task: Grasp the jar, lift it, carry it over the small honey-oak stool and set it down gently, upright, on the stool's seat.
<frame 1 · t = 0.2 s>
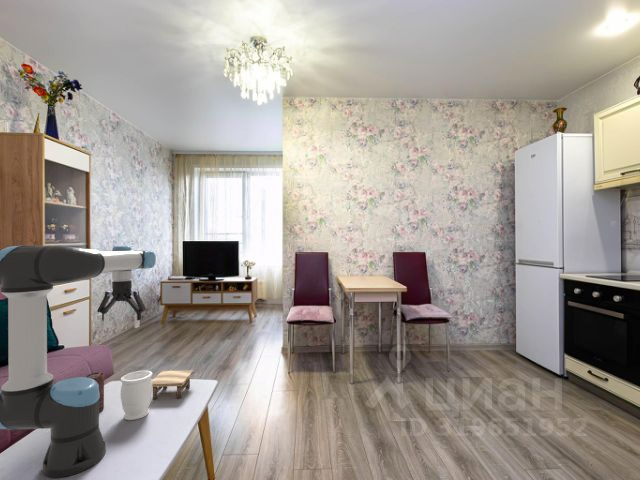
hand: (121, 327, 146), 28 cm above the table, fingers open, 13 cm apart
jar: (136, 415, 124), on the table
can: (94, 411, 127), on the table
stool: (171, 392, 142), on the table
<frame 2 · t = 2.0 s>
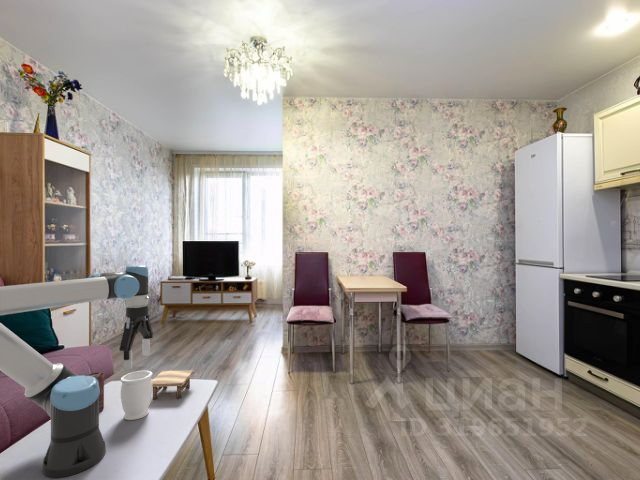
hand: (137, 361, 124), 20 cm above the table, fingers open, 13 cm apart
nothing on the table moved.
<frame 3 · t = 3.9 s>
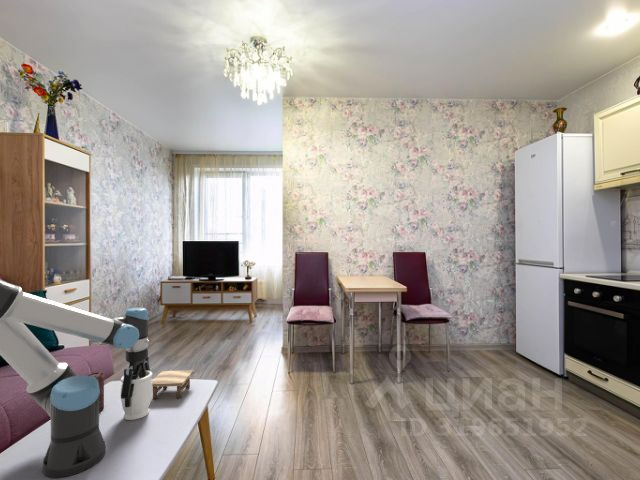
hand: (136, 407, 124), 3 cm above the table, fingers closed on jar, 10 cm apart
jar: (136, 415, 124), on the table, touching gripper
everything else where it was.
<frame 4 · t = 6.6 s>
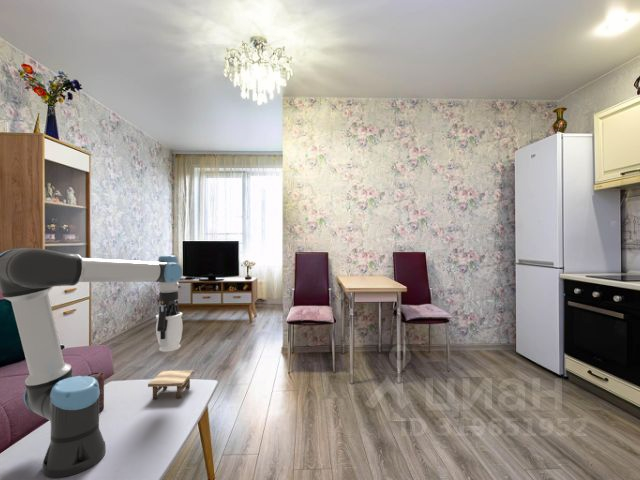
hand: (169, 342, 141), 23 cm above the table, fingers closed on jar, 10 cm apart
jar: (169, 349, 141), point 20 cm above the table, touching gripper
everything else where it was.
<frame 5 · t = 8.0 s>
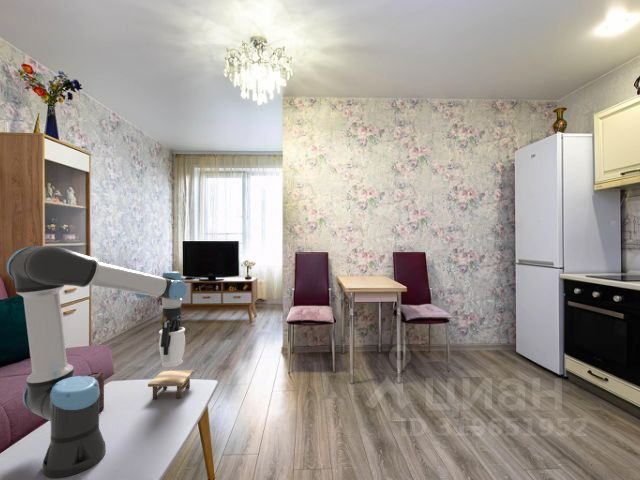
hand: (172, 357, 143), 15 cm above the table, fingers closed on jar, 10 cm apart
jar: (172, 364, 143), point 12 cm above the table, touching gripper
everything else where it was.
when the fingers open (11 cm above the table, at t = 9.3 s): jar drops 1 cm, resting on stool.
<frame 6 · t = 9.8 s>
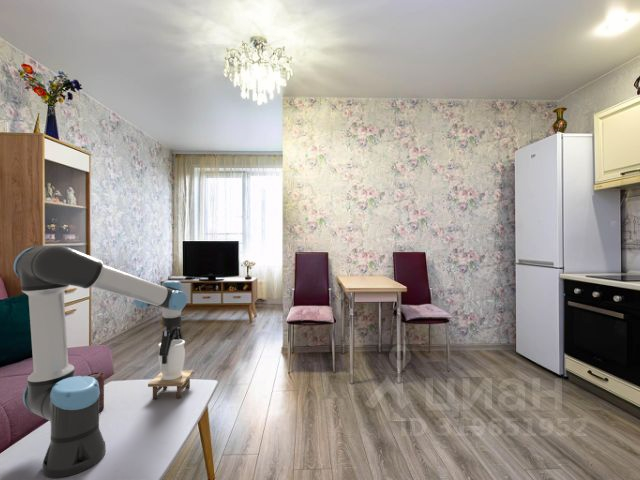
hand: (171, 364, 142), 12 cm above the table, fingers open, 13 cm apart
jar: (172, 377, 142), point 7 cm above the table, touching stool
everything else where it was.
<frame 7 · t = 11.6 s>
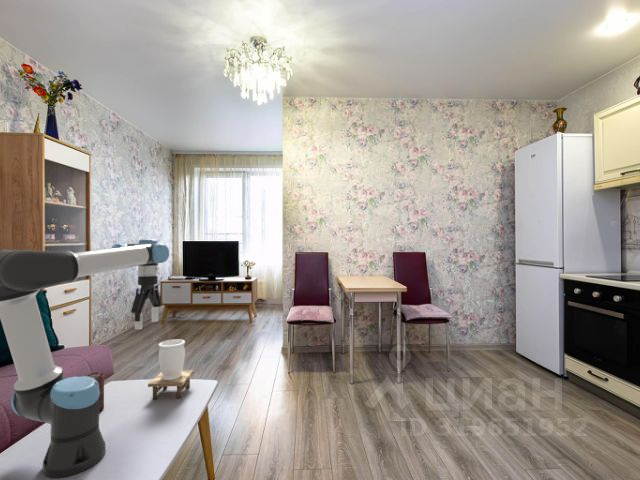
hand: (147, 325, 139), 30 cm above the table, fingers open, 13 cm apart
nothing on the table moved.
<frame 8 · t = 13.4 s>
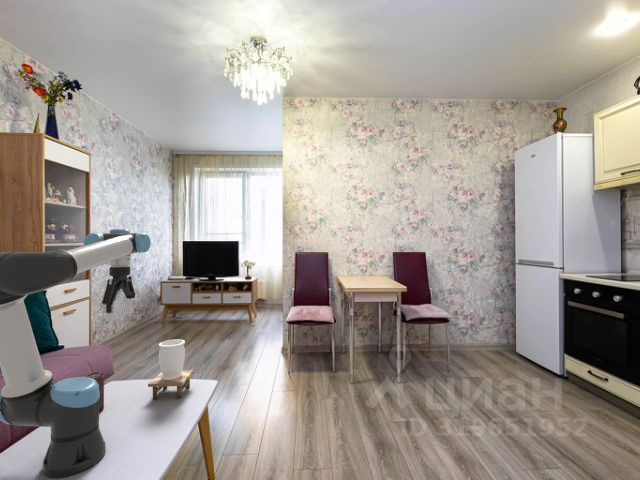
hand: (119, 317, 136), 35 cm above the table, fingers open, 13 cm apart
nothing on the table moved.
at the end: jar inside the target area on the stool (0.1 cm from its centre), point 6.8 cm above the stool's base; jar tilted 0°; the gripper is holding nothing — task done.
